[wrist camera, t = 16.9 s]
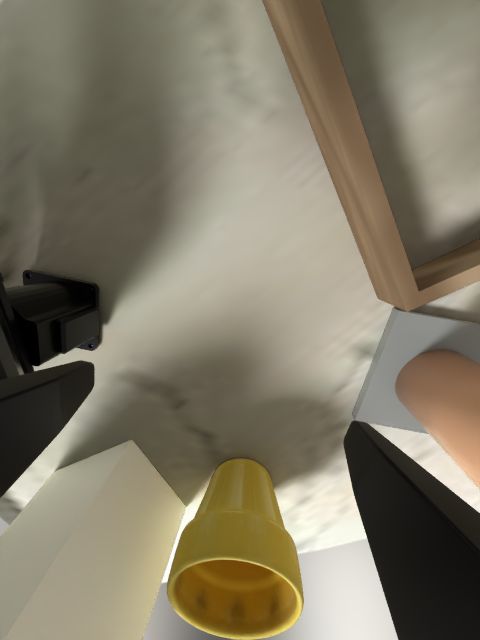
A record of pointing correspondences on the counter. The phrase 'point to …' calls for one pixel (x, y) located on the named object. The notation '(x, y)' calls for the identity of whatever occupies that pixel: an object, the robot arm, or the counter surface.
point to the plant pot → (237, 559)
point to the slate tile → (397, 350)
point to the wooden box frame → (359, 163)
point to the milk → (89, 551)
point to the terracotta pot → (446, 403)
